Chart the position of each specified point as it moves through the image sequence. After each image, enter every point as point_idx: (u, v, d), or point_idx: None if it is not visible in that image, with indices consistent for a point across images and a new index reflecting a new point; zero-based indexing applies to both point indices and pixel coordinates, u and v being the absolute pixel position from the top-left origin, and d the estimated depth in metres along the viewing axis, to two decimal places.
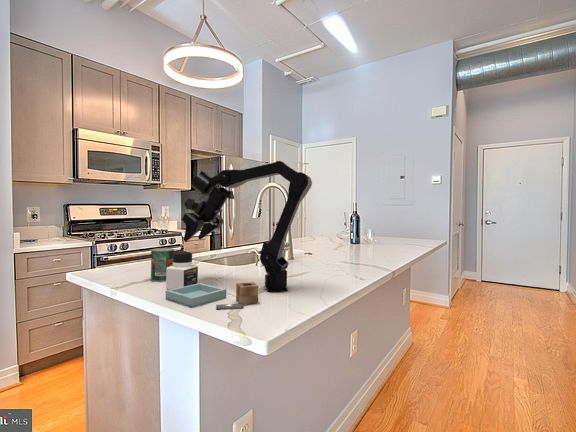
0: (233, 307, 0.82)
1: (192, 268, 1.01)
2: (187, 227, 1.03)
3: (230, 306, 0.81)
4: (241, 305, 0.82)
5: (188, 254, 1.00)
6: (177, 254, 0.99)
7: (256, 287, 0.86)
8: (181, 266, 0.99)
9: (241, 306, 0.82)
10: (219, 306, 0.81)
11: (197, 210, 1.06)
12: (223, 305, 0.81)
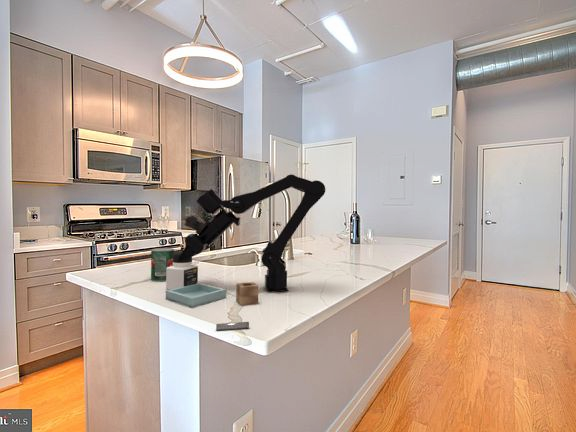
0: (237, 327, 0.68)
1: (192, 268, 1.01)
2: (186, 247, 0.95)
3: (233, 326, 0.68)
4: (246, 324, 0.68)
5: None
6: (177, 254, 0.99)
7: (256, 287, 0.86)
8: (181, 266, 0.99)
9: (246, 326, 0.68)
10: (220, 326, 0.67)
11: (199, 230, 0.98)
12: (225, 324, 0.68)
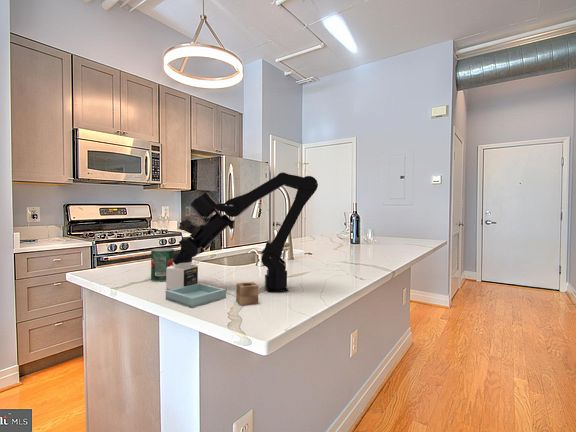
0: None
1: (192, 268, 1.01)
2: (182, 250, 0.97)
3: None
4: None
5: None
6: (177, 254, 0.99)
7: (256, 287, 0.86)
8: (181, 266, 0.99)
9: None
10: None
11: (193, 233, 0.98)
12: None
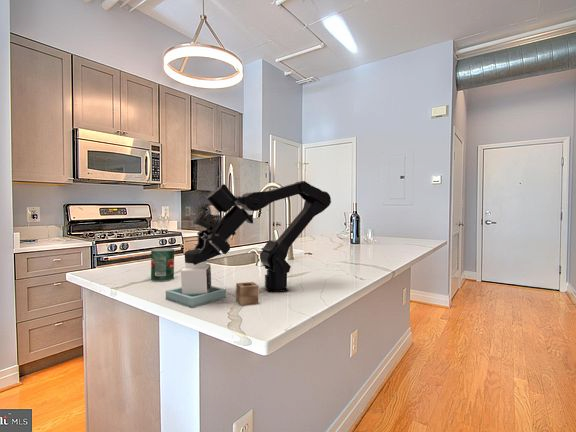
0: None
1: (209, 267, 0.91)
2: (205, 248, 0.86)
3: None
4: None
5: None
6: (194, 253, 0.87)
7: (256, 287, 0.86)
8: (200, 266, 0.88)
9: None
10: None
11: (214, 229, 0.89)
12: None
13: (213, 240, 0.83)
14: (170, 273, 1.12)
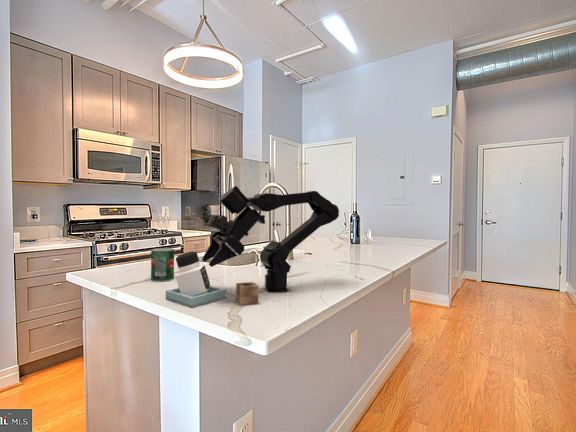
0: None
1: (203, 267, 0.91)
2: (221, 250, 0.87)
3: None
4: None
5: (195, 253, 0.90)
6: (184, 256, 0.87)
7: (256, 287, 0.86)
8: (193, 267, 0.88)
9: None
10: None
11: (228, 230, 0.91)
12: None
13: (228, 241, 0.84)
14: (170, 273, 1.12)
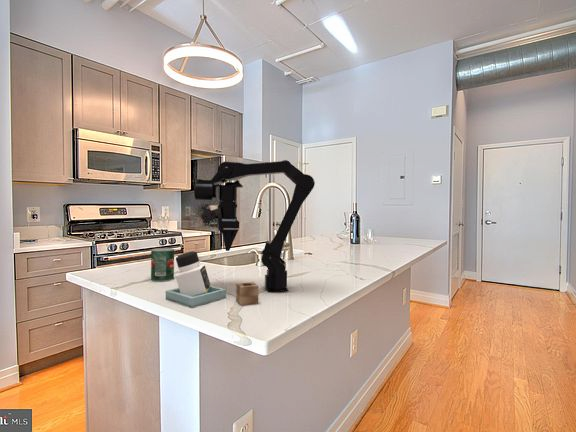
0: None
1: (203, 267, 0.91)
2: (225, 235, 0.95)
3: None
4: None
5: (195, 253, 0.90)
6: (184, 256, 0.87)
7: (256, 287, 0.86)
8: (193, 267, 0.88)
9: None
10: None
11: (219, 216, 0.98)
12: None
13: (221, 226, 0.92)
14: (170, 273, 1.12)
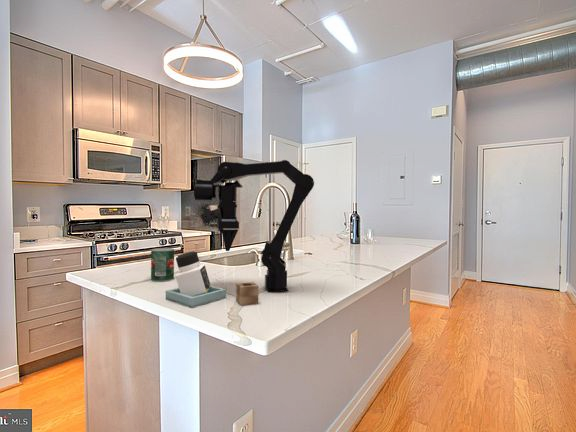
0: None
1: (203, 267, 0.91)
2: (224, 235, 0.95)
3: None
4: None
5: (195, 253, 0.90)
6: (184, 256, 0.87)
7: (256, 287, 0.86)
8: (193, 267, 0.88)
9: None
10: None
11: (219, 216, 0.98)
12: None
13: (221, 227, 0.92)
14: (170, 273, 1.12)
